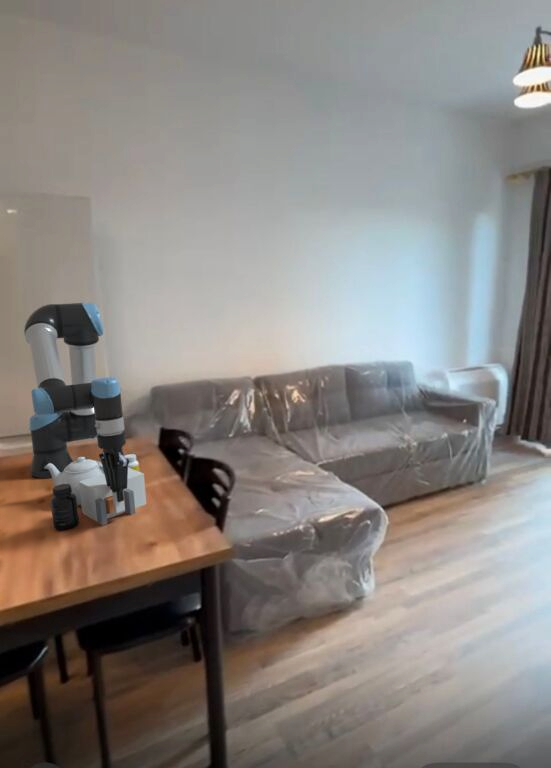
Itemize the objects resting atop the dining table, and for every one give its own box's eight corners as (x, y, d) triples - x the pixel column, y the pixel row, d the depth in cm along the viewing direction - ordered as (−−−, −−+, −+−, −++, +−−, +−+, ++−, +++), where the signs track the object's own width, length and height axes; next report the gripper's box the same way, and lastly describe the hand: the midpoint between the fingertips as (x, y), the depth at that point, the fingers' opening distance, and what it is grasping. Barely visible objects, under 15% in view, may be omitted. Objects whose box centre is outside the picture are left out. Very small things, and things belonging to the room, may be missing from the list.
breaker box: (81, 513, 147) (78, 481, 145) (129, 496, 158) (126, 466, 157) (102, 525, 138) (99, 492, 136) (151, 506, 150) (149, 475, 148)
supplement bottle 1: (58, 521, 142) (54, 482, 139) (82, 520, 142) (78, 481, 140) (50, 532, 135) (44, 492, 133) (75, 531, 135) (70, 490, 133)
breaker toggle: (97, 507, 146) (96, 494, 145) (110, 502, 149) (108, 490, 148) (110, 514, 141) (109, 501, 140) (122, 509, 144) (121, 496, 143)
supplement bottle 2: (142, 479, 172) (140, 453, 171) (136, 485, 167) (134, 458, 165) (128, 479, 173) (125, 453, 171) (121, 485, 168) (119, 458, 166)
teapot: (72, 514, 146) (67, 471, 144) (46, 498, 159) (41, 459, 156) (127, 494, 160) (124, 455, 157) (100, 481, 172) (96, 444, 170)
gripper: (87, 432, 139) (97, 510, 143) (109, 439, 130) (119, 521, 134) (111, 426, 144) (120, 501, 148) (134, 432, 135) (143, 512, 139)
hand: (119, 511), depth 141 cm, fingers closed
